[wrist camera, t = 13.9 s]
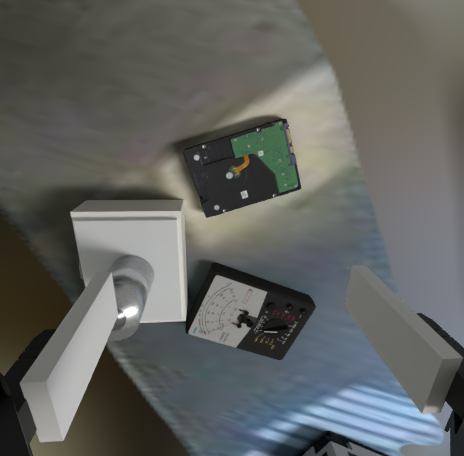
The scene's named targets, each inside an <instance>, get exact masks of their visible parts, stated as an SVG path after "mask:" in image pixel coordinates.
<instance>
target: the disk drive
mask: <svg viewBox="0 0 464 456" xmlns="http://www.w3.org/2000/svg"><path fill="white" fill-rule="evenodd" d="M288 127H289V125H288V122H287V120H286V119H280V120H277V121H273V122H269V123H266V124H263V125H260V126H258V127H254V128H251V129H248V130H245V131H241V132H238V133H235V134H232V135H229V136H225V137H222V138H219V139H216V140H213V141H209V142H206V143H202V144H198V145H195V146H193V147H190V148H187V149H185V150H184V152H183V153H184V156H185V159H186V161H187V164H188V167H189V170H190V173H191V176H192V179H193V182H194V184H195V187H196V190H197V192H198V195H199V197H200V201H201V204H202V207H203V210H204V213H205V216H206V217H207V218H208V217H211V216H216V215H219V214H222V213H224V212H228V211H232V210H234V209H238V208H241V207H244V206H248V205H251V204H254V203H258V202H261V201H265V200H267V199H271V198H274V197H277V196H281V195H285V194H288V193H290V192H294V191H297V190H300V189H301V184H300V179H299V174H298V168H297V164H296V163H297V162H296V157H295V154H294V150H293V145H292V140H291V136H290V130H289V128H288Z"/></svg>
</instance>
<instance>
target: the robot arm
mask: <svg viewBox="0 0 464 456" xmlns="http://www.w3.org/2000/svg"><path fill="white" fill-rule="evenodd" d="M344 307H345V308H346V310H347V311H348V312H349V314H350V315H351V316H352V318H353V319H354V321H355V322H356V323H357V325H358V326H359V327H360V329H361V330H362V332H363V333H364V334H365V336H366V337H367V339H368V340H369V341H370V343H371V344H372V345H373V347H374V348H375V350H376V351H377V352H378V354H379V355H380V356H381V358H382V359H383V361H384V362H385V363H386V365H387V366H388V368H389V369H390V370H391V372H392V373H393V374H394V376H395V377H396V379H397V380H398V381H399V383H400V384H401V385H402V387H403V388H404V390H405V391H406V392H407V394H408V395H409V397H410V398H411V399H412V401H413V402H414V403H415V405H416V406H417V408H418V409H419V410H420V412H421V413H422V414H425V413H438V412H441V410H442V408H443V405H444V403H445V401H446V402H447V403H448V404H449V405H450V407H451V408H452V409H453V411H452V413H451V415H450V418H449V420H448V422H447V425H446V427H445V431H446V432H448V431H449V429H450V439H451V440H450V447H451V448H450V451H451V456H464V348H463V347H462V346H461V345H460V344H459V343H458V342H457V341H455V340H454V339H453V338H452V337H450V335H448V333H446V332H445V331H444V330H442V328H441V327H440V326H439V325H438V324H437V323H436V322H434V321H433V320H432V319H430V318H428V317H427V316H425V315H423V314H421V313H415V312H414V311H413V310H412V309H411V308H410V307H409V306H408V305H407V304H406V303H405V302H403V301H402V300H401V299H400V298H399V297H398V296H397V295H396V294H395V293H394V292H393V291H392V290H391V289H390V288H389V287H388V286H386V285H385V284H384V283H383V282H382V281H381V280H380V279H379V278H378V277H377V276H376V275H375V274H374V273H373V272H372V271H371V270H370V269H368V268H367V267H366V266H365V265H359V266H352V269H351V274H350V279H349V284H348V289H347V294H346V299H345V304H344ZM117 317H118V310H117V304H116V297H115V291H114V284H113V278H112V272H96V274H95V275H94V277H93V278H92V279H91V281H90V282H89V284H88V285H87V287H86V288H85V289H84V291H83V292H82V294H81V295H80V297H79V298H78V300H77V301H76V302H75V304H74V305H73V307H72V308H71V310H70V311H69V313H68V314H67V315H66V317H65V318H64V320H63V321H62V323H61V324H60V326H59V327H58V328H57V329H51V330H44V331H43V332H42V333H40V334H39V335H38V336H36V337H35V338H34V339H33V340H32V341H31V342H30V344H29V345H28V346H27V347H26V349H25V351H23V353H22V354H21V355H20V357H19V359H18V360H17V361H16V362H15V363H14V364H13V366H12V367H11V368H10V370H9V371H8V372H7V373H6V375H5V376H3V375H2V374H1V373H0V456H33V454H32V451H31V448H30V445H29V444H30V442H31V440H32V438H33V436H34V434H35V432H37V435H38V438H39V441H40V442H48V441H49V442H50V441H63V440H64V437H65V436H66V433H67V431H68V429H69V427H70V424H71V422H72V420H73V418H74V415H75V413H76V411H77V408H78V406H79V404H80V401H81V399H82V397H83V395H84V392H85V390H86V388H87V386H88V383H89V381H90V379H91V376H92V374H93V372H94V369H95V367H96V365H97V363H98V360H99V358H100V355H101V353H102V351H103V349H104V347H105V344H106V342H107V340H108V337H109V335H110V333H111V330H112V328H113V326H114V324H115V321H116V319H117Z"/></svg>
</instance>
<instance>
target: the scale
mask: <svg viewBox="0 0 464 456" xmlns="http://www.w3.org/2000/svg"><path fill="white" fill-rule="evenodd" d="M70 213H71V218H72V223H73V228H74V233H75V238H76V243H77V248H78V253H79V258H80V259H79V271H80V275H81V279H83V280H84V284H85V288H86V287H87V285H88V284H89V282H90V281H91V279H92V278H93V277H94V275H95V274H96V272H108V270H109V269H110V267H111V265H112V264H113V263H114V261H115V260H117V259H118V258H120V257H122V256H126V255H135V256H139V257H141V258H143V259H145V260H146V261H148V262H149V263H150V265H151V266H152V268H153V270H154V280H153V283H152V286H151V289H150V292H149V295H148V298H147V301H146V304H145V307H144V311H143V314H142V317H141V320H140V323H148V322H173V321H186V315H187V304H188V290H187V268H186V245H185V222H184V200H86V201H85V202H83V203H82V204H81V205H79V206H78V207H76V208H75V209H74V210H72V211H71V212H70Z"/></svg>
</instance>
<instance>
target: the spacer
mask: <svg viewBox="0 0 464 456" xmlns="http://www.w3.org/2000/svg"><path fill="white" fill-rule="evenodd" d="M108 272H112V278H113V284H114V291H115V297H116V304H117V310H118V317H117V319H116V321H115V324H114V326H113V328H112V330H111V333H110V335H109V337H108V341H118V340H123V339H125V338H128V337H129V336H131V335H132V334H133V333H134V332H135V331H136V330H137V328H138V326H139V323H140V320H141V317H142V314H143V311H144V307H145V304H146V301H147V298H148V295H149V292H150V289H151V286H152V283H153V280H154V270H153V268H152V266H151V265H150V263H149V262H148V261H146V260H145V259H143V258H141V257H139V256H135V255H126V256H122V257H120V258H118V259H117V260H115V261H114V263H113V264H112V265H111V267H110V269H109V270H108Z"/></svg>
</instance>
